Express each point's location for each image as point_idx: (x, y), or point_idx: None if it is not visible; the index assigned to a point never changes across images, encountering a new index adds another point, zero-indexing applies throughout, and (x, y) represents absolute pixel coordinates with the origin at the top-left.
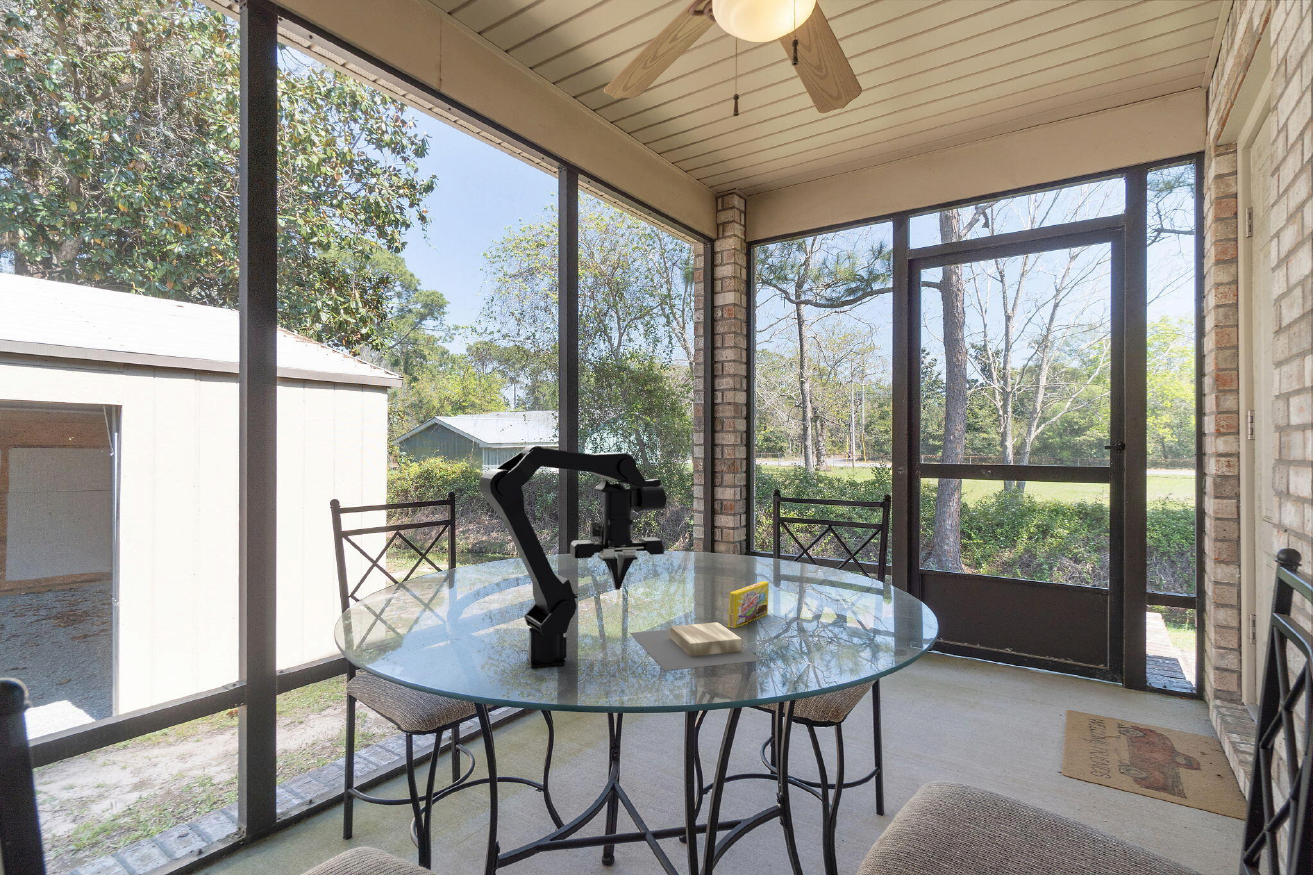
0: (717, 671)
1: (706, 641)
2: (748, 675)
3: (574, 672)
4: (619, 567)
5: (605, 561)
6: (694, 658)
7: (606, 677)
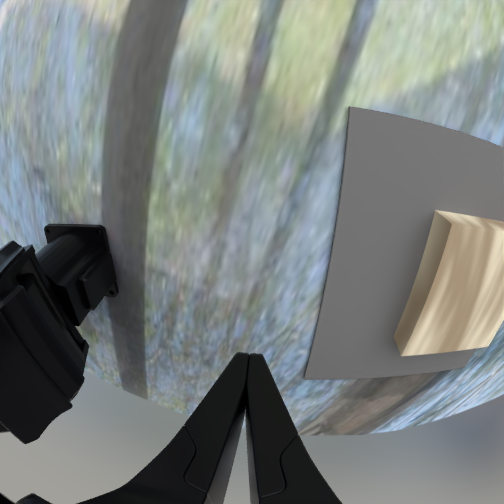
0: (385, 386)
1: (435, 350)
2: (408, 399)
3: (138, 328)
4: (253, 493)
5: (120, 497)
6: (391, 346)
7: (194, 364)
